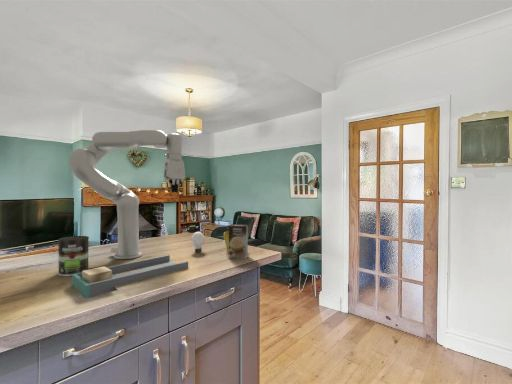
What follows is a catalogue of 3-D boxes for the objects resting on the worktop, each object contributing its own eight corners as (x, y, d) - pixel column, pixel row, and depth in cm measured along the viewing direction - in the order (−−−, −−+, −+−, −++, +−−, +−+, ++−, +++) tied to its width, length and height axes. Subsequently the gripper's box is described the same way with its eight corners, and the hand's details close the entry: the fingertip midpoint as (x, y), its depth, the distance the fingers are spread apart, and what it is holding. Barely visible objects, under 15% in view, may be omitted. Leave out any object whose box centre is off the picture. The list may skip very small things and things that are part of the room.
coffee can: (87, 274, 107) (87, 239, 107) (55, 278, 102) (55, 241, 102) (90, 267, 116) (89, 234, 116) (61, 270, 111) (60, 236, 111)
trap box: (168, 263, 122) (168, 254, 122) (188, 271, 111) (188, 261, 111) (72, 285, 95) (72, 274, 94) (86, 298, 84) (86, 285, 84)
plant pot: (234, 253, 141) (235, 235, 141) (219, 251, 146) (219, 233, 146) (246, 249, 150) (246, 232, 149) (231, 247, 155) (231, 230, 155)
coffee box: (227, 258, 131) (227, 225, 131) (230, 255, 137) (230, 224, 137) (246, 259, 130) (246, 226, 130) (248, 255, 136) (248, 224, 136)
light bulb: (203, 253, 140) (203, 232, 140) (190, 253, 140) (190, 232, 140) (205, 250, 147) (205, 230, 147) (192, 250, 147) (192, 230, 146)
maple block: (104, 278, 97) (104, 266, 97) (112, 283, 93) (112, 270, 93) (82, 283, 92) (82, 270, 92) (89, 288, 87) (89, 275, 87)
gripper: (164, 155, 133) (164, 192, 134) (190, 158, 144) (190, 192, 144) (157, 157, 138) (157, 192, 139) (183, 159, 149) (183, 192, 150)
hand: (174, 192), depth 142 cm, fingers closed
